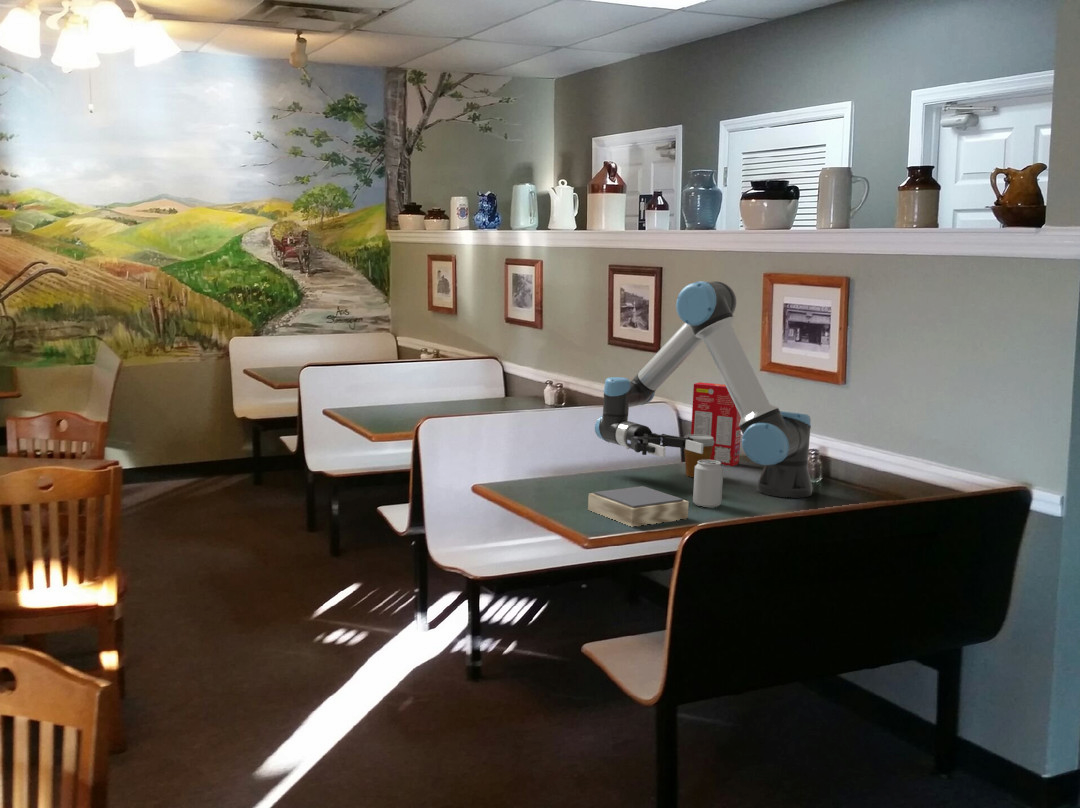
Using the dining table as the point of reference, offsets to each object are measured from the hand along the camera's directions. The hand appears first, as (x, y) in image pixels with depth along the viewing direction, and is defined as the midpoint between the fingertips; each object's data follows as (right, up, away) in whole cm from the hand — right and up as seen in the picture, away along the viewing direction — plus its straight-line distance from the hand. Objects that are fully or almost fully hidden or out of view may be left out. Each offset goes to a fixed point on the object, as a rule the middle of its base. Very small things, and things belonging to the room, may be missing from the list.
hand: (683, 450), depth 285 cm
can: (+5, -14, -6) cm, 17 cm away
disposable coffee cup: (+8, -9, +30) cm, 32 cm away
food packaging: (+17, -6, +52) cm, 55 cm away
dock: (-14, -15, -19) cm, 28 cm away
